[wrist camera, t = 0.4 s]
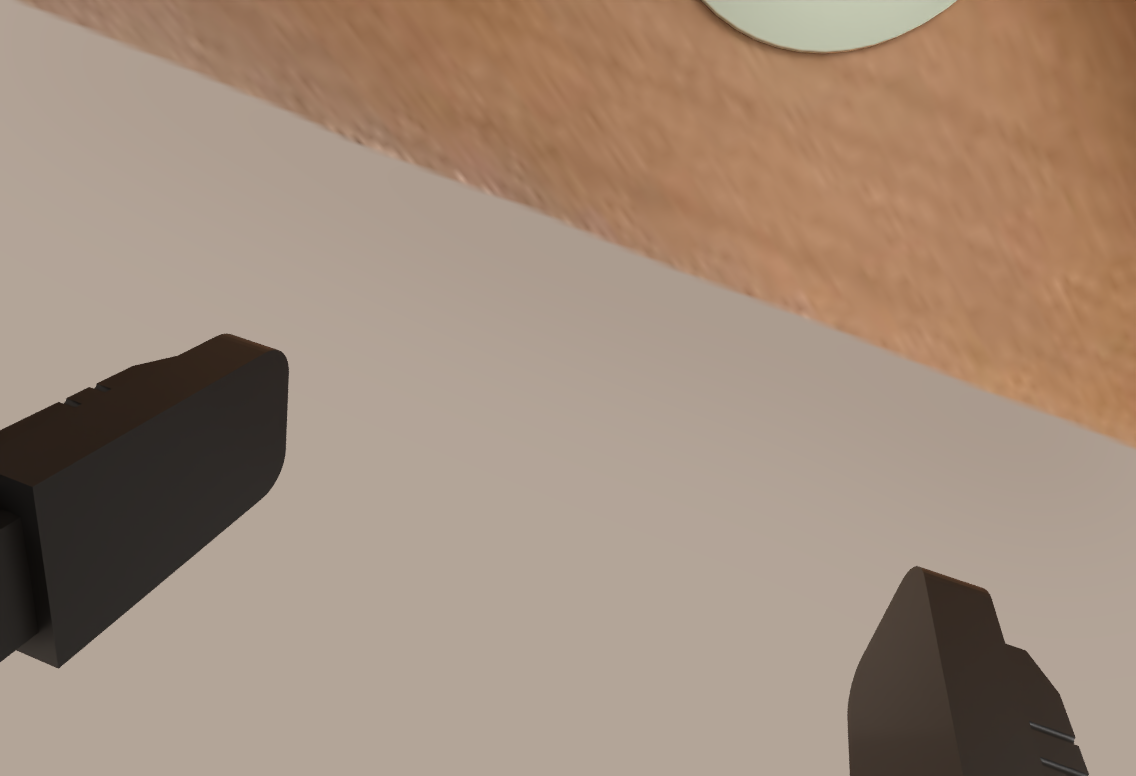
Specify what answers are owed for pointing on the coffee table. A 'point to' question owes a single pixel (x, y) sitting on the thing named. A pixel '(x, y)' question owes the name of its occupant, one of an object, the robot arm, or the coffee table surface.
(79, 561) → the robot arm
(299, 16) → the coffee table surface
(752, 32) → the plate
